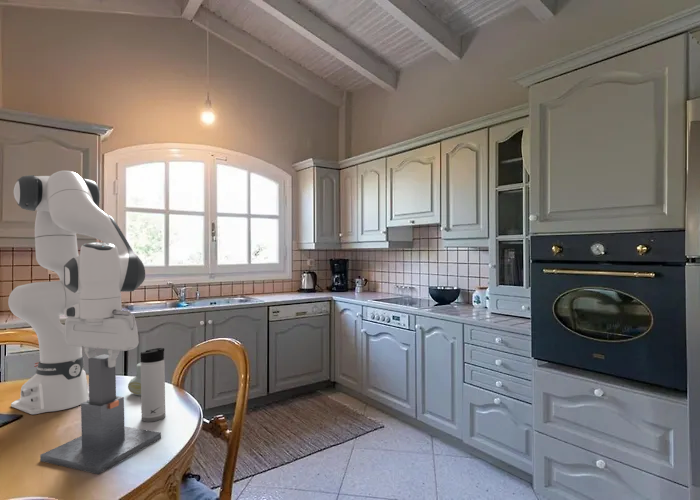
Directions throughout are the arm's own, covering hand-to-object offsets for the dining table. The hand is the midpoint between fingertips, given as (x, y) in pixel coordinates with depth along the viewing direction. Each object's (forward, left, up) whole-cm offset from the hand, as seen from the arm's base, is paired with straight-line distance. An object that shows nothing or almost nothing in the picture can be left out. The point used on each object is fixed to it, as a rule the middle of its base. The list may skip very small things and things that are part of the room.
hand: (102, 365), depth 104 cm
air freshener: (-22, +35, -21) cm, 46 cm away
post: (0, 0, -14) cm, 14 cm away
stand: (0, 0, -20) cm, 20 cm away
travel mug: (-3, +19, -21) cm, 28 cm away
